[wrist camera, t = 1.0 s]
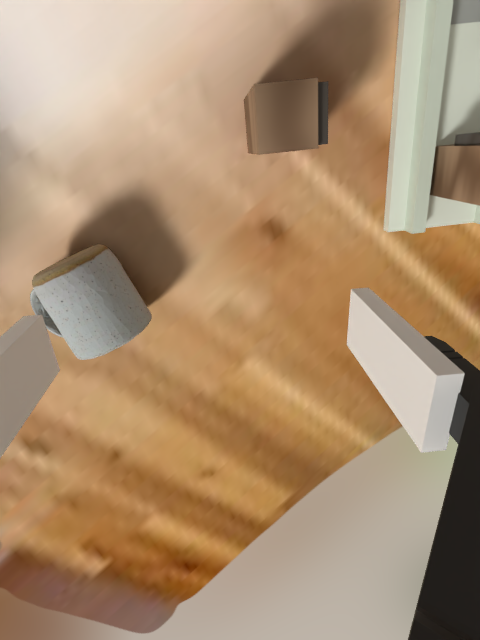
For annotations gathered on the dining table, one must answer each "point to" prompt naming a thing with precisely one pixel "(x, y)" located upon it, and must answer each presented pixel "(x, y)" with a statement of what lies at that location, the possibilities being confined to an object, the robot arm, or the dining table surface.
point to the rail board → (431, 108)
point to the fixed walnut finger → (458, 169)
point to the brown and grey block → (286, 116)
